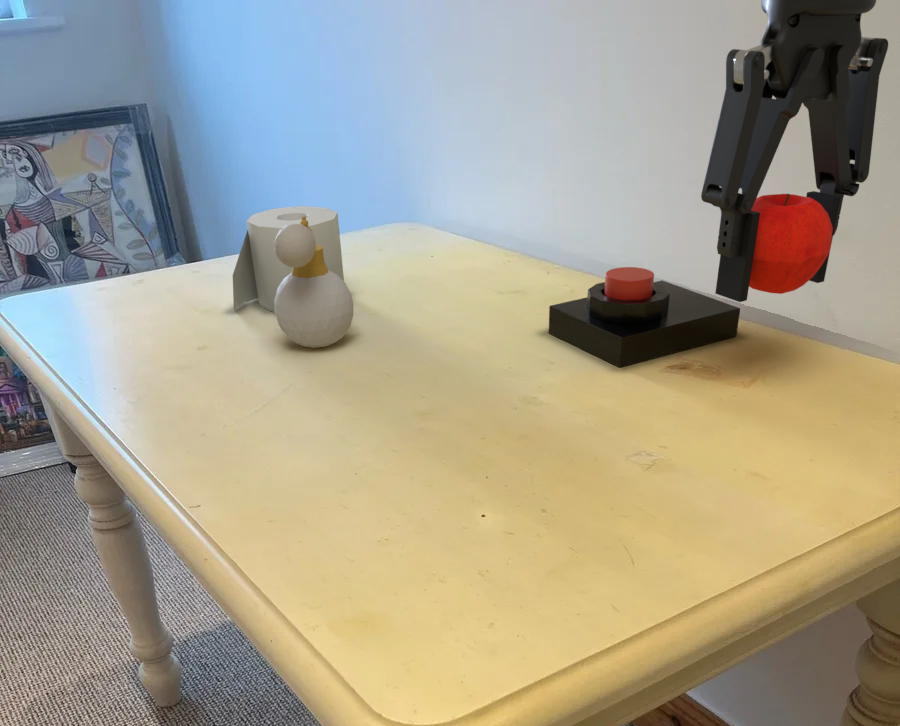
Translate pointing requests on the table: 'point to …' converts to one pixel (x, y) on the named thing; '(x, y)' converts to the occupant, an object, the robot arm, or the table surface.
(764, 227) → the apple
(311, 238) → the perfume bottle
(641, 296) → the button
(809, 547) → the table surface
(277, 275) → the toilet tissue
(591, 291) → the button base
